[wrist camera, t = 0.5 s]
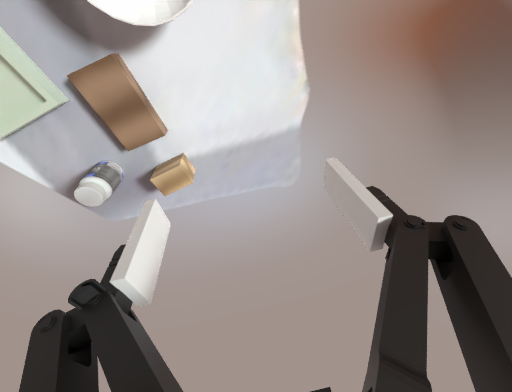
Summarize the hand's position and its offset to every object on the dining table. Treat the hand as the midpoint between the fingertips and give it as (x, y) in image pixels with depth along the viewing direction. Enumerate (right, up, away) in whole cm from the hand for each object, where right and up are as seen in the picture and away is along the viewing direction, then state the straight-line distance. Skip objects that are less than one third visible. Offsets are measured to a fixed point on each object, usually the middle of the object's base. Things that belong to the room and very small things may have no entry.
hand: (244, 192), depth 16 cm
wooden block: (-15, +5, +25) cm, 30 cm away
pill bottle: (-27, +5, +24) cm, 36 cm away
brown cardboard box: (-20, +15, +18) cm, 31 cm away
